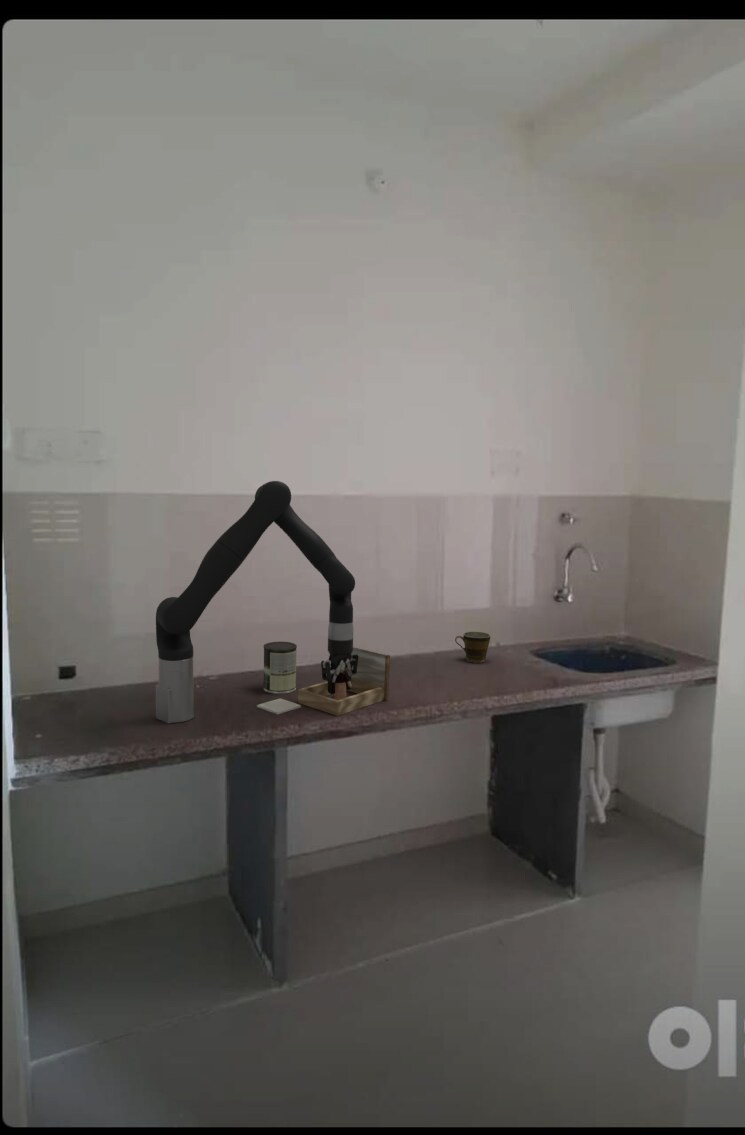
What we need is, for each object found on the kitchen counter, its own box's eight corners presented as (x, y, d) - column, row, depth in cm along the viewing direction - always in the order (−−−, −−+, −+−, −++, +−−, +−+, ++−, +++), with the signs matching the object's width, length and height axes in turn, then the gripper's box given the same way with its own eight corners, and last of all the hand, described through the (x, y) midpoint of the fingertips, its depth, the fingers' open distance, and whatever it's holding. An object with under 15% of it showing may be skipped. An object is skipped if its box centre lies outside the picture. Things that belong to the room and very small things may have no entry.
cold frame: (340, 716, 208) (341, 668, 206) (295, 701, 219) (296, 656, 218) (388, 700, 224) (390, 655, 222) (344, 687, 235) (345, 644, 234)
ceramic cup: (486, 657, 278) (487, 631, 276) (491, 664, 268) (493, 637, 266) (451, 657, 277) (453, 631, 275) (456, 664, 267) (457, 637, 266)
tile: (277, 714, 208) (277, 712, 208) (256, 707, 214) (256, 705, 214) (300, 707, 215) (300, 705, 215) (280, 700, 221) (280, 698, 220)
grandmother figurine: (352, 700, 222) (353, 659, 220) (351, 704, 218) (352, 663, 216) (327, 699, 223) (328, 658, 221) (325, 703, 219) (326, 661, 217)
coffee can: (256, 690, 230) (256, 646, 228) (277, 682, 239) (277, 639, 237) (282, 696, 225) (283, 651, 223) (302, 687, 233) (303, 644, 232)
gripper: (332, 642, 210) (331, 699, 212) (366, 634, 221) (364, 689, 223) (314, 638, 215) (313, 693, 217) (347, 630, 226) (346, 683, 228)
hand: (339, 691), depth 220 cm, fingers open, 6 cm apart
